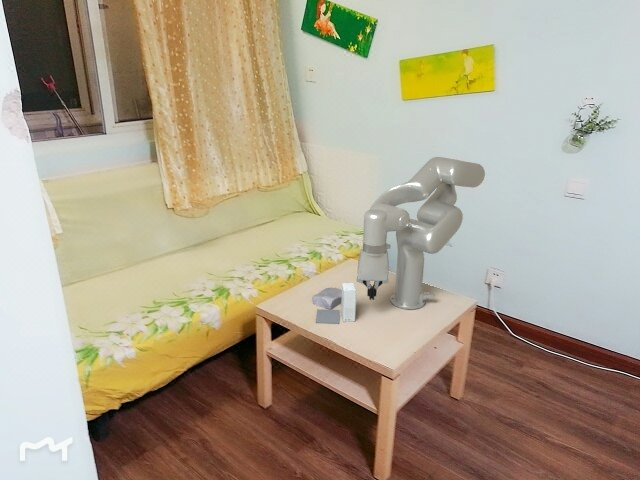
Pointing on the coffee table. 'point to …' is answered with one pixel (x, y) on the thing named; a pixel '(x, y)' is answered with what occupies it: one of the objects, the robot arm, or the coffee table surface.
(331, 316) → the pad
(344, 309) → the skincare box
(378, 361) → the coffee table surface
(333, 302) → the stone block
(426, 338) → the coffee table surface
